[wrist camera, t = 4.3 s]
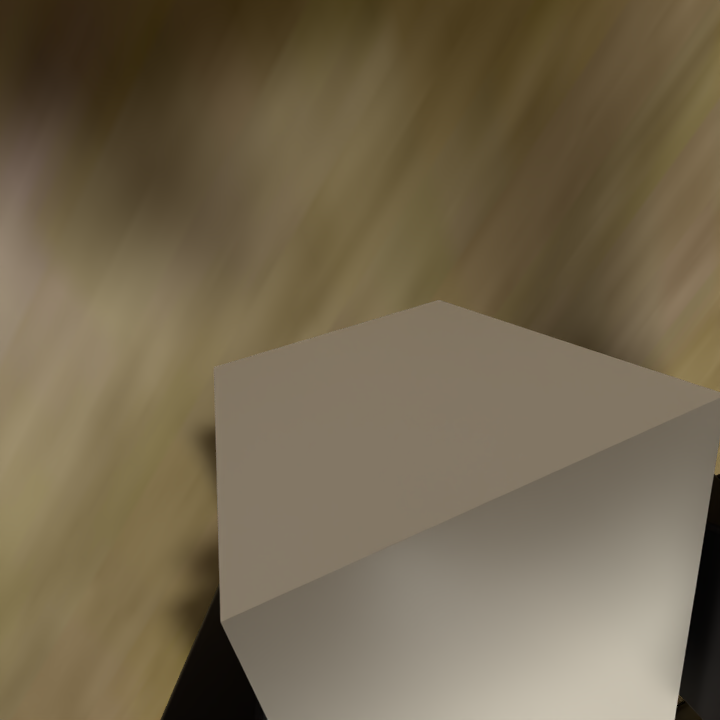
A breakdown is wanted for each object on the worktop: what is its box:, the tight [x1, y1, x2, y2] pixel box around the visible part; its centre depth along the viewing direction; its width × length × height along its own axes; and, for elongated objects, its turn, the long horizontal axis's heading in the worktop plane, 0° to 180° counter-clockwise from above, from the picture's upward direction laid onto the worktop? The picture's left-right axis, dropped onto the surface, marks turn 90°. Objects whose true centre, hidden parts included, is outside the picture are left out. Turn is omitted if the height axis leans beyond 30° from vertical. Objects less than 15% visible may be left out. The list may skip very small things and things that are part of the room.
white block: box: [214, 300, 720, 720], centre depth 7 cm, size 4×7×5 cm, turn 12°
